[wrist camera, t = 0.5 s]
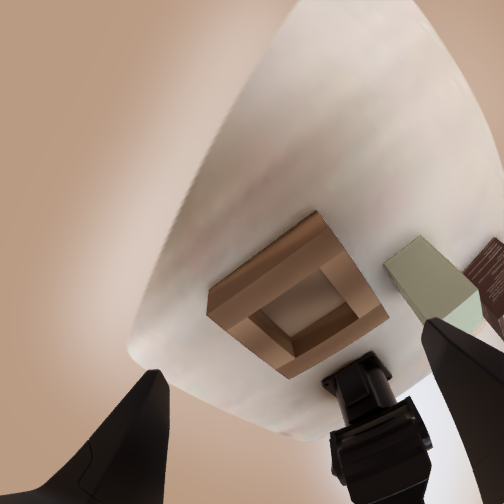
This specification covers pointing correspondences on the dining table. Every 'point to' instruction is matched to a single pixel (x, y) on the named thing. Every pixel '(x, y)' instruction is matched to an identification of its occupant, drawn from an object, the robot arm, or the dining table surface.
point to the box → (490, 283)
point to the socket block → (297, 300)
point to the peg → (435, 286)
